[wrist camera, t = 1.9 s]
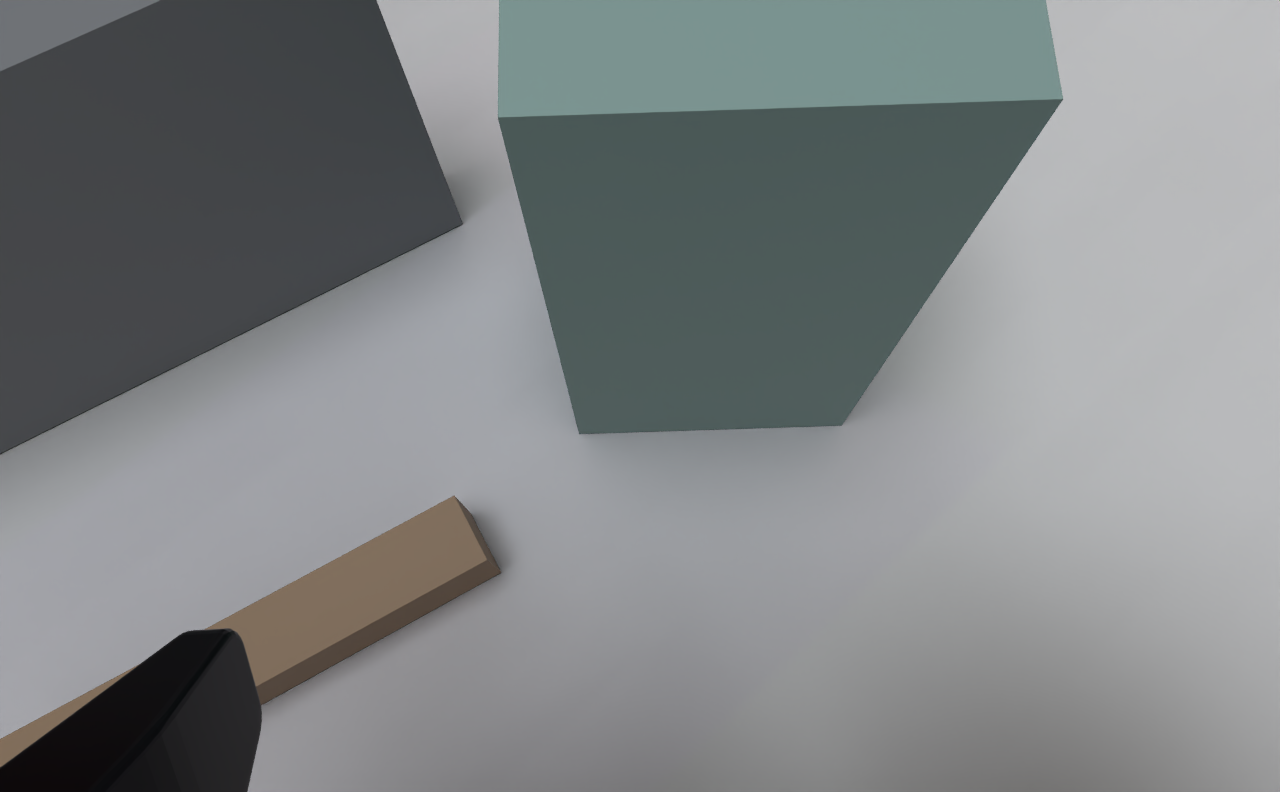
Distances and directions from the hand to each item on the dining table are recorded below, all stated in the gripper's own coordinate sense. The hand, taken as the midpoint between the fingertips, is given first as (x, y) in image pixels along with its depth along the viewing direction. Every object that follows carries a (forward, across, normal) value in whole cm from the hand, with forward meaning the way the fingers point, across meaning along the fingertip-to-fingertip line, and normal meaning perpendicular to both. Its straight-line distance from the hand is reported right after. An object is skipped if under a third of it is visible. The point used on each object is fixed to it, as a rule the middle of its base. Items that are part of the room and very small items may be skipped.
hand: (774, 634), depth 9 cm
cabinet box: (+15, -1, +4) cm, 16 cm away
